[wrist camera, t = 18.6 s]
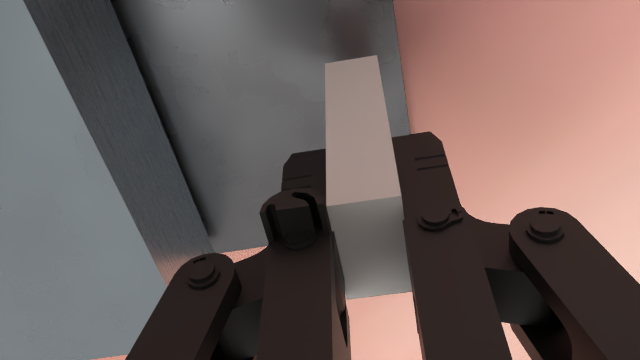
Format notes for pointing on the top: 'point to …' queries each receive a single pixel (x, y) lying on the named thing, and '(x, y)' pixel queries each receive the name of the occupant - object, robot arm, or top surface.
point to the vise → (251, 91)
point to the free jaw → (82, 186)
